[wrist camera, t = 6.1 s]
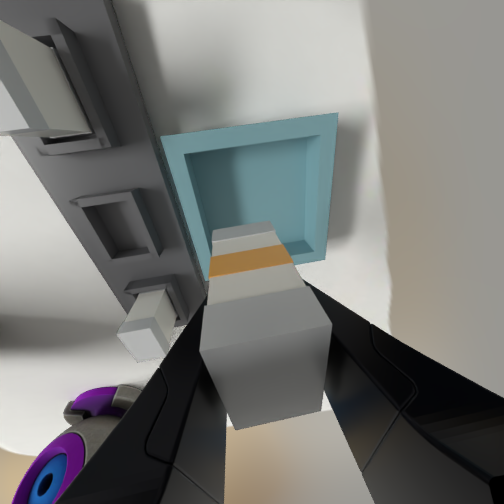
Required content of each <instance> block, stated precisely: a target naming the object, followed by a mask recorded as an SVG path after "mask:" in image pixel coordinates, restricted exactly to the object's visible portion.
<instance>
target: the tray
mask: <svg viewBox="0 0 504 504" xmlns="http://www.w3.org/2000/svg"><path fill="white" fill-rule="evenodd" d="M337 123H338V113H330V114H323V115H315V116H308V117H301V118H293V119H286V120H278V121H271V122H263V123H256V124H249V125H241V126H234V127H226V128H219V129H211V130H204V131H197V132H189V133H182V134H174V135H167V136H160V138H161V142H162V145H163V148H164V151H165V154H166V157H167V161H168V164H169V167H170V170H171V173H172V177H173V180H174V183H175V186H176V189H177V193H178V196H179V199H180V202H181V205H182V209H183V212H184V215H185V218H186V221H187V225H188V228H189V231H190V234H191V237H192V241H193V244H194V247H195V250H196V253H197V257H198V260H199V263H200V266H201V269H202V273H203V276H204V279H205V281H208V280H209V278H208V277H209V267H210V257H212V248H213V245H212V233H213V230H217V229H222V228H228V227H234V226H240V225H246V224H251V223H257V222H263V221H269V220H270V222H271V224H272V225H273V227H274V229H275V230H276V235H277V237H278V239H279V240H280V242H281V244H283V245H284V247H285V248H286V250H287V252H288V253H289V255H290V257H291V258H292V260H293V264H294V265H298V264H304V263H309V262H315V261H321V260H325V256H326V245H327V233H328V222H329V211H330V200H331V189H332V178H333V167H334V156H335V145H336V134H337Z"/></svg>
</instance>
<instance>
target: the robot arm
mask: <svg viewBox="0 0 504 504" xmlns="http://www.w3.org/2000/svg"><path fill="white" fill-rule="evenodd" d="M302 280H303V279H302ZM303 281H304V283H305V285H306V286H310V288H311V290H312V291H313V293H314V295H315V296H316V298H317V300H318V301H319V303H320V305H321V306H322V308H323V310H324V311H325V313H326V314H327V316H328V318H329V319H330V321H331V323H332V331H331V338H330V346H329V353H328V361H327V369H326V376H325V384H324V391H325V393H326V396H327V398H328V400H329V402H330V405H331V407H332V409H333V411H334V413H335V415H336V418H337V420H338V422H339V425H340V427H341V429H342V431H343V433H344V435H345V438H346V440H347V442H348V445H349V447H350V449H351V451H352V453H353V456H354V458H355V460H356V462H357V465H358V467H359V469H360V471H361V472H362V476H363V478H364V480H365V483H366V485H367V487H368V489H369V492H370V494H371V496H372V498H373V500H374V503H375V504H504V398H503V397H501V396H499V395H497V394H495V393H493V392H491V391H489V390H488V389H486V388H484V387H482V386H480V385H478V384H476V383H475V382H473V381H471V380H469V379H467V378H465V377H464V376H462V375H460V374H458V373H456V372H455V371H453V370H451V369H449V368H447V367H445V366H444V365H442V364H440V363H438V362H436V361H434V360H433V359H431V358H429V357H427V356H425V355H423V354H422V353H420V352H418V351H416V350H415V349H413V348H411V347H409V346H408V345H406V344H404V343H402V342H401V341H399V340H397V339H396V338H394V337H393V336H391V335H389V334H388V333H386V332H384V331H383V330H381V329H380V328H378V327H377V326H375V325H373V324H370V322H369V321H367V320H366V319H364V318H362V317H361V316H359V315H358V314H356V313H355V312H353V311H351V310H350V309H348V308H347V307H345V306H344V305H342V304H341V303H339V302H337V301H336V300H334V299H333V298H331V297H330V296H328V295H326V294H325V293H323V292H322V291H320V290H319V289H317V288H316V287H314V286H312V285H311V284H309V283H308V282H306V281H305V280H303ZM207 300H208V295H207V296H206V297H205V299H204V300H203V302H202V303H201V305H200V306H199V308H198V309H197V311H196V312H195V314H194V315H193V317H192V318H191V320H190V321H189V323H188V324H187V326H186V327H185V329H184V330H183V332H182V333H181V334H180V336H179V337H178V339H177V340H176V342H175V343H174V345H173V346H172V348H171V349H170V351H169V352H168V354H167V355H166V357H165V358H164V360H163V361H162V363H161V364H160V366H159V367H160V368H158V369H157V370H156V371H155V373H154V374H153V376H152V377H151V379H150V380H149V382H148V383H147V384H146V386H145V387H144V389H143V390H142V392H141V393H140V394H139V396H138V397H137V399H136V400H135V401H134V403H133V404H132V405H131V407H130V408H129V409H128V411H127V412H126V413H125V414H124V416H123V417H122V418H121V420H120V421H119V422H118V424H117V425H116V426H115V427H114V429H113V430H112V431H111V433H110V434H109V435H108V436H107V438H106V439H105V440H104V441H103V443H102V444H101V445H100V447H99V448H98V449H97V450H96V452H95V453H94V454H93V455H92V457H91V458H90V459H89V461H88V462H87V463H86V464H85V466H84V467H83V468H82V469H81V471H80V472H79V473H78V475H77V476H76V477H75V478H74V480H73V481H72V482H71V483H70V485H69V486H68V487H67V488H66V490H65V491H64V492H63V493H62V495H61V496H60V497H59V498H58V499H57V501H56V502H55V503H54V504H224V484H225V453H226V422H227V411H226V409H225V406H224V404H223V402H222V400H221V398H220V396H219V393H218V391H217V389H216V387H215V385H214V382H213V380H212V378H211V376H210V374H209V371H208V369H207V367H206V365H205V363H204V360H203V358H202V356H201V354H200V352H199V350H200V341H201V332H202V323H203V314H204V306H207Z"/></svg>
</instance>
